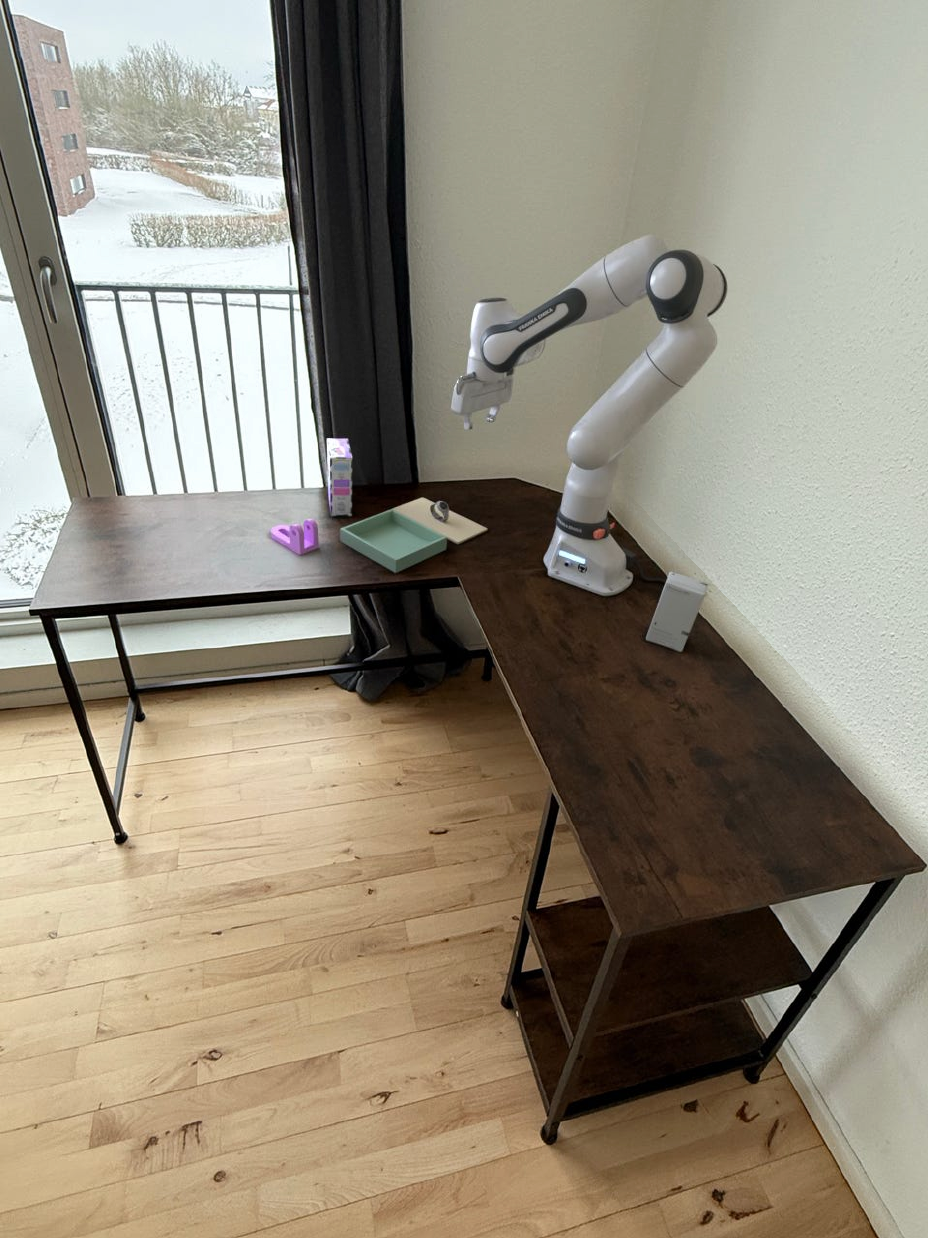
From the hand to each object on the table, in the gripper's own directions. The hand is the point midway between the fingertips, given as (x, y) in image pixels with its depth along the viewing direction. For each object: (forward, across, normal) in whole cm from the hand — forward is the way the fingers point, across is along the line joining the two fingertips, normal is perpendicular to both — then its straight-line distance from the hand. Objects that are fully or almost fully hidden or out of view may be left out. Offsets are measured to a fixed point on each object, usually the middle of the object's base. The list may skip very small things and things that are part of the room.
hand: (479, 425), depth 171 cm
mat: (+25, -10, +3) cm, 27 cm away
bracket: (+25, -47, +18) cm, 56 cm away
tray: (+25, -29, +1) cm, 38 cm away
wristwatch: (+24, -10, +3) cm, 27 cm away
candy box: (+25, -25, +26) cm, 43 cm away
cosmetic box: (+26, -13, -66) cm, 72 cm away
